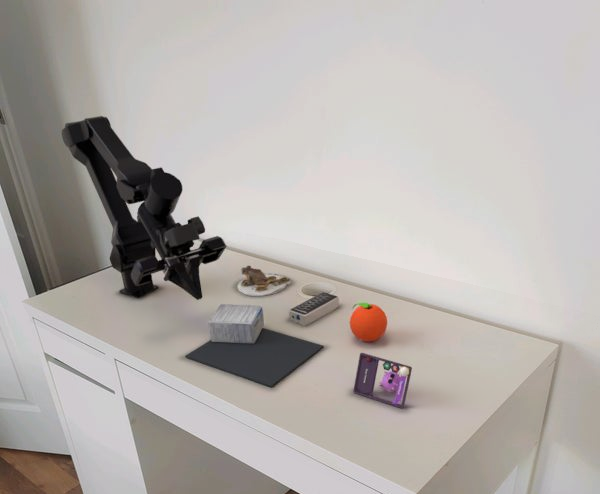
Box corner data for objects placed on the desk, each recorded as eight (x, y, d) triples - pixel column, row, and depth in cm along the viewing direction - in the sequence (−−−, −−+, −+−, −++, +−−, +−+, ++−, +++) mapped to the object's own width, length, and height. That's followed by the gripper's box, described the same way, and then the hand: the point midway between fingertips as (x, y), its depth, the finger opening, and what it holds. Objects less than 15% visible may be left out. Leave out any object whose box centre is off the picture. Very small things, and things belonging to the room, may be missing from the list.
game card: (357, 353, 98) (409, 368, 93) (373, 349, 102) (422, 363, 98) (350, 393, 100) (400, 409, 95) (365, 387, 104) (414, 403, 100)
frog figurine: (225, 291, 138) (223, 274, 136) (256, 272, 146) (254, 256, 144) (267, 300, 133) (266, 283, 131) (297, 280, 141) (296, 264, 139)
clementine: (338, 336, 117) (337, 302, 113) (365, 325, 121) (365, 291, 117) (367, 352, 112) (367, 316, 108) (394, 339, 115) (395, 305, 111)
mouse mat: (185, 357, 113) (185, 355, 113) (240, 323, 124) (240, 321, 124) (271, 387, 103) (271, 385, 103) (323, 347, 114) (323, 345, 114)
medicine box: (210, 342, 117) (254, 345, 115) (207, 321, 114) (252, 323, 113) (222, 323, 123) (264, 325, 122) (220, 303, 121) (263, 305, 119)
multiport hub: (339, 306, 128) (339, 296, 127) (305, 326, 121) (304, 315, 120) (323, 301, 131) (323, 291, 130) (288, 320, 124) (288, 309, 123)
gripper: (125, 217, 107) (167, 294, 105) (215, 194, 116) (254, 264, 115) (114, 249, 116) (153, 320, 115) (198, 225, 126) (235, 291, 125)
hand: (200, 298), depth 117 cm, fingers closed
